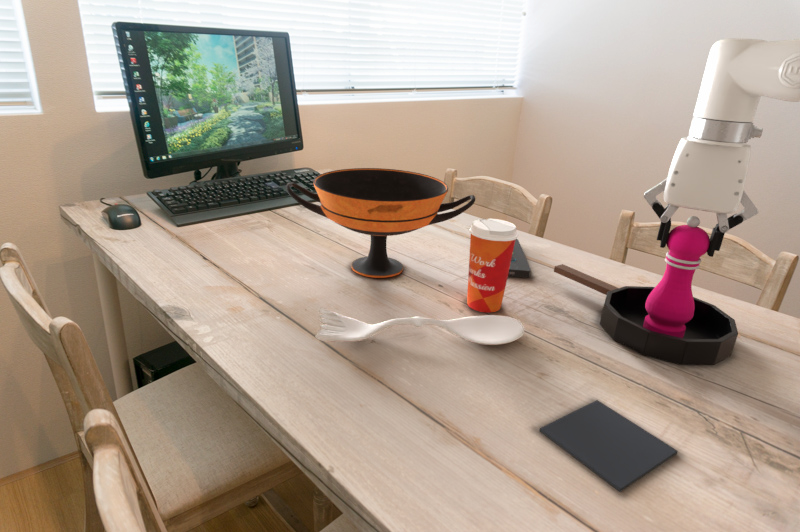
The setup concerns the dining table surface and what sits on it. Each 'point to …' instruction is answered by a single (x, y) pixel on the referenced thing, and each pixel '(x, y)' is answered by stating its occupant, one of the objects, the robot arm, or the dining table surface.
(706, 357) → the pan
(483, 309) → the coffee cup
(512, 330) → the spoon
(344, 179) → the cup
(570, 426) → the slate mat
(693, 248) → the pepper mill
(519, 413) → the dining table surface
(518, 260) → the smart home device
